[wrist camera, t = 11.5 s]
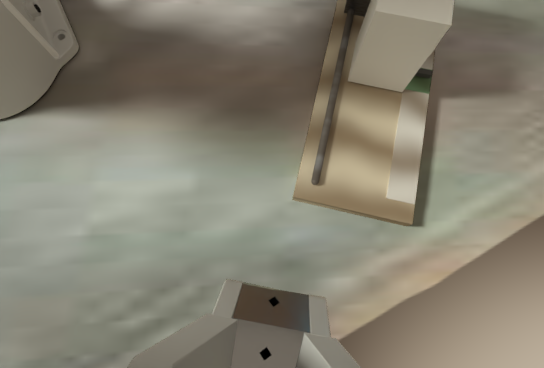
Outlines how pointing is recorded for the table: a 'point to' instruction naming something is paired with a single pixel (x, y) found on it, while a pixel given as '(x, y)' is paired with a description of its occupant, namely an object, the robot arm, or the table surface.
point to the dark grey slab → (357, 6)
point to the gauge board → (362, 136)
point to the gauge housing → (398, 41)
